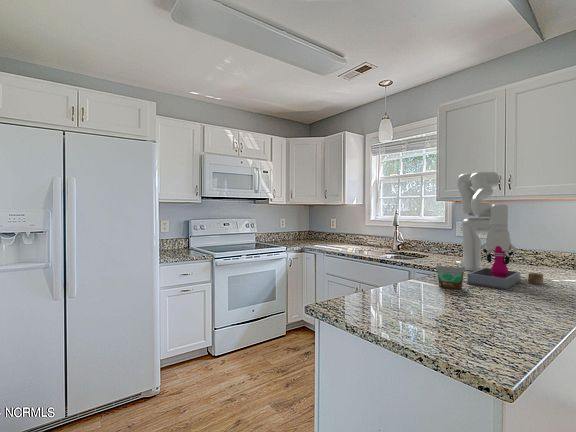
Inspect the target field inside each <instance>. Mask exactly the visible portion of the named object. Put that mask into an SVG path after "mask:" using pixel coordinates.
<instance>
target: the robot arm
mask: <svg viewBox="0 0 576 432" xmlns="http://www.w3.org/2000/svg"><path fill="white" fill-rule="evenodd" d="M499 183H500V176H499V174H498V173H497V172H496V171H478V172H466V173H462V174H460V175H459V176H458V177H457V188H458V191H459V194H460V196H461V205H462V213H463V215H464V216H465V217H467V218H465V219H463V220H462V222H461V230H462V239H463V240H462V260H461V261H459V260H458V261H457V260H456V261H455V264H456V265H460V266H459V268H462V267H464V268H465V271H470V272H473V271H476V270H479V269H482V268H483V267H482V266H481V265H482V263H481V262H482V261H481V259H482V258H481V257H482V251H483V252H484V254H485V255H486V261H487V263H491V262H492V253H493V251H494V252H495V248H496V246H500V247H501V248H502V251H505V254H506V256H505V258H504V260H505V264H506V266H507V265H509V263H510V262H511V261H510V258H511V256H512V255H514V254H515V253H516V252H517V251H518V248H517V247H516V246H515V245H513V244H512V242H511V240H512V239H511V234H510V231H509V229H508V228H509V227H508V225H509V224H508V223H509V206H508V205H507V204H504V203H501V204H496V203H495V204H494V203H493V204H491V203H490V202H488V201H482V200H485V199H488V198H489V197H491V196H492V194H493V193H494V189H493V188H492V187H496V186H498V185H499ZM468 217H469V218H468ZM478 235H486V238H485V239H486V240H485V243H483V244H482V241H481V238H480V237H479V236H478Z"/></svg>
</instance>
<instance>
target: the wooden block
mask: <svg viewBox="0 0 576 432" xmlns="http://www.w3.org/2000/svg"><path fill="white" fill-rule="evenodd" d="M527 280H528V281H527V283H530V284H529V285H535V284H536V285H537V286H542V285H544V273H539V272H529V273H528V278H527ZM536 285H535V286H536Z"/></svg>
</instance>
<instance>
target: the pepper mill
mask: <svg viewBox="0 0 576 432" xmlns="http://www.w3.org/2000/svg"><path fill="white" fill-rule="evenodd" d="M493 256H494V263H493V264H492V266H491V267H490V268H491V272H492V273H493V275H492V277H498V278H507V277H506V275H507V274H508V271H509V268H508V266H507V265H506V264H505V257H506V254H505V251H502V248H501V247H500V246H496V248H495V251H494V252H493Z"/></svg>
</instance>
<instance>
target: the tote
mask: <svg viewBox="0 0 576 432" xmlns="http://www.w3.org/2000/svg"><path fill="white" fill-rule="evenodd" d="M481 268H482V269H479V270H476V271H470V272H469V273H467V282H466V283H467V285H471V286H473V285H474V286H477V287H484V288H491V289H497V290H503V291H504V290H505V291H508V290H510V289H511V288H512V287H514V286H516V285H517V284H519V283H521V272H520V271H516V270H514V271H513V270H508V274H507V275H506V277H507V278H498V277H492V275H493V273H492V272H491V268H492V267H481Z"/></svg>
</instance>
